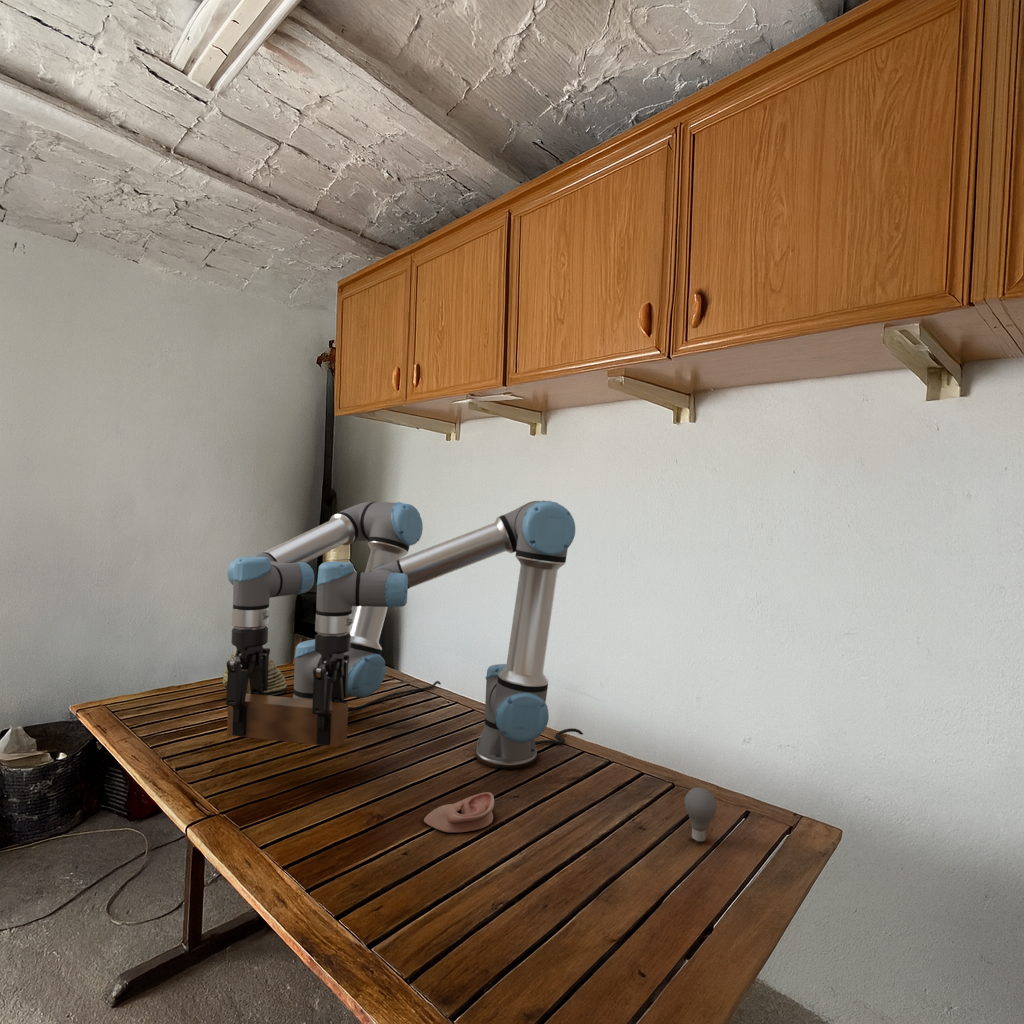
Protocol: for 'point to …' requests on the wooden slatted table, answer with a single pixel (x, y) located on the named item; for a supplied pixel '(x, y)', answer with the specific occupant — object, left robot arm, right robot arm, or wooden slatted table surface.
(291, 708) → the bar
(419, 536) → the left robot arm
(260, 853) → the wooden slatted table surface
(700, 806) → the light bulb
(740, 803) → the wooden slatted table surface
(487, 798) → the anatomical model
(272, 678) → the fossil
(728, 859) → the wooden slatted table surface
